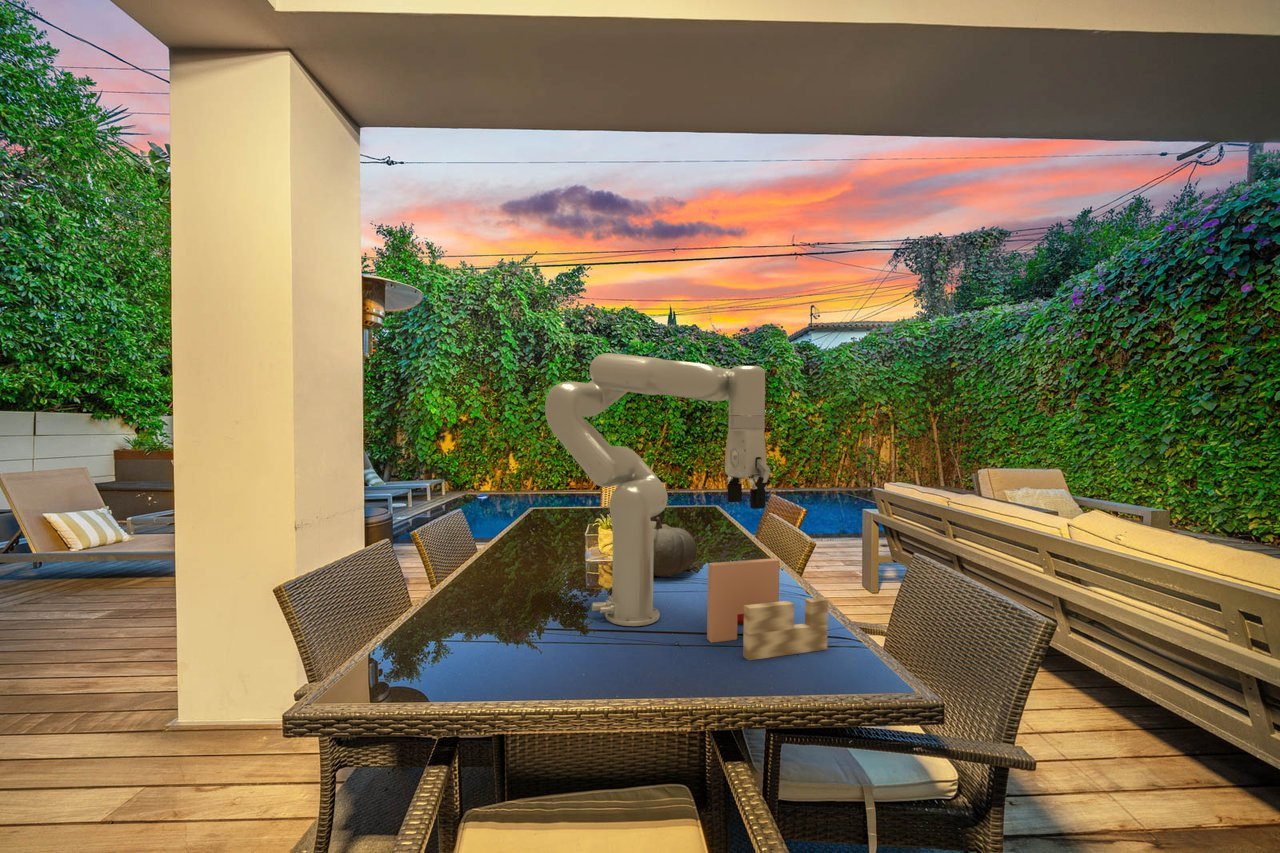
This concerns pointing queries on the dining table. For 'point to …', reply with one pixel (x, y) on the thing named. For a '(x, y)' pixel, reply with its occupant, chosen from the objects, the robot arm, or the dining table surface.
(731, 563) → the terracotta plate
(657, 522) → the gourd
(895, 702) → the dining table surface
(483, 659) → the dining table surface
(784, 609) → the oak board
